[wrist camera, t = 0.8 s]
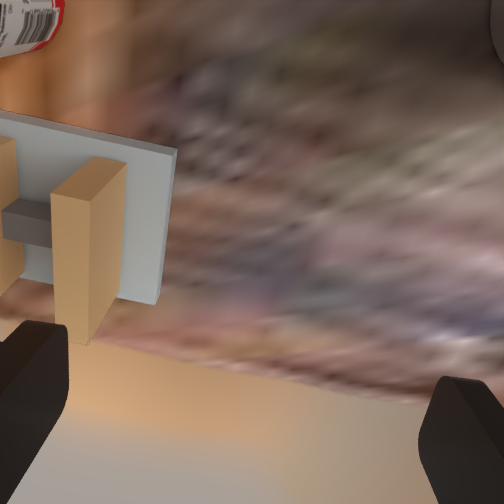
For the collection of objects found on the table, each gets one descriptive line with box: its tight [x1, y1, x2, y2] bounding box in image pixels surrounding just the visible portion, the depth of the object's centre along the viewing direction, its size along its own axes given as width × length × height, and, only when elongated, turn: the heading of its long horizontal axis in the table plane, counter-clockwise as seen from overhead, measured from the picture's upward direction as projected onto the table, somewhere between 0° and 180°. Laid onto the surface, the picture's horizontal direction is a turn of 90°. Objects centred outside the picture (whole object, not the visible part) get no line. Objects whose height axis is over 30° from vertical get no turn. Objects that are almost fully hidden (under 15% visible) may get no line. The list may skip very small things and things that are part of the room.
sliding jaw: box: [0, 136, 127, 346], centre depth 26 cm, size 10×10×6 cm
